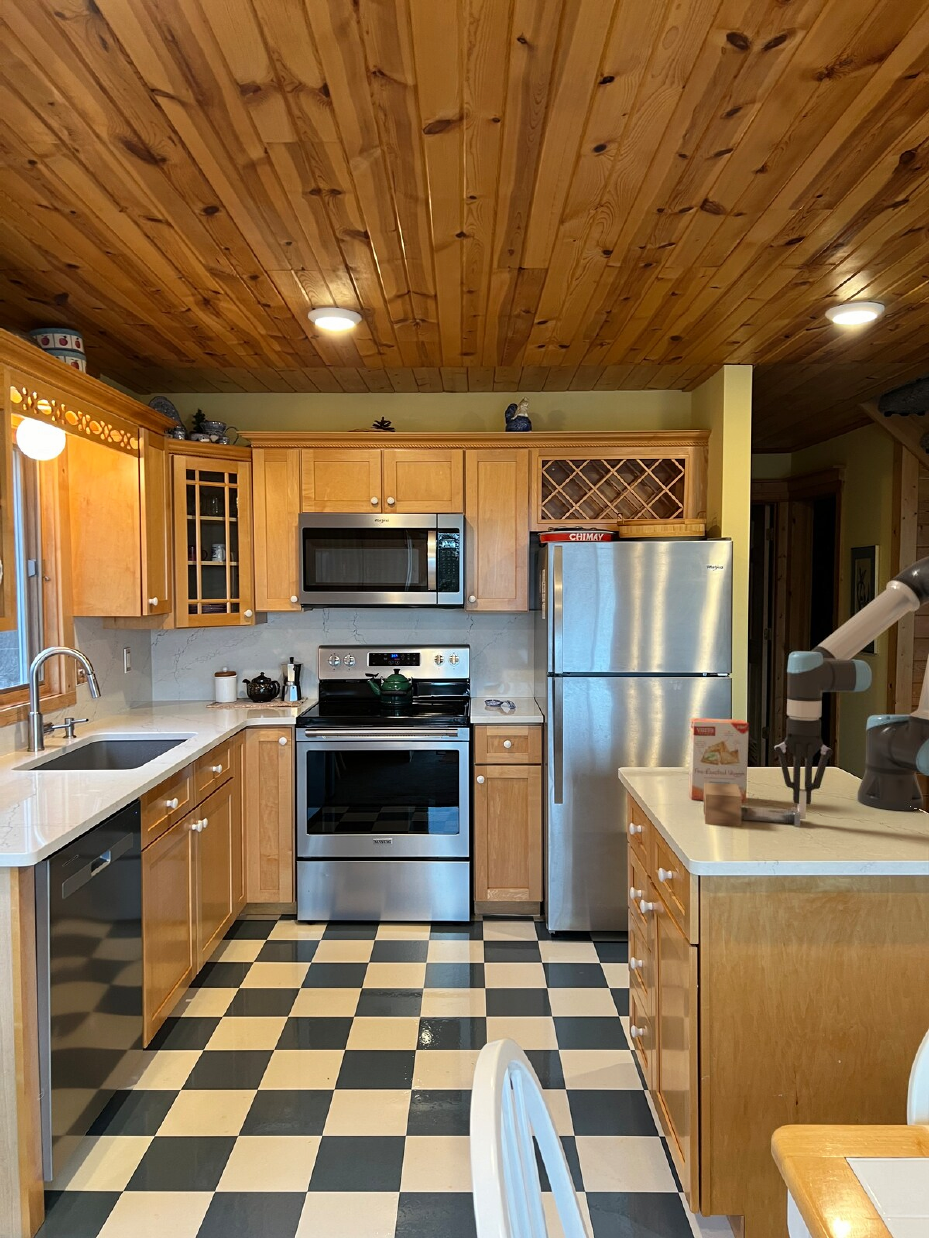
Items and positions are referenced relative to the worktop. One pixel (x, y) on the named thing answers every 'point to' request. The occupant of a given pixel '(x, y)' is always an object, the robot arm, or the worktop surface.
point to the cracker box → (718, 754)
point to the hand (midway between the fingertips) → (801, 817)
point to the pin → (771, 815)
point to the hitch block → (722, 804)
